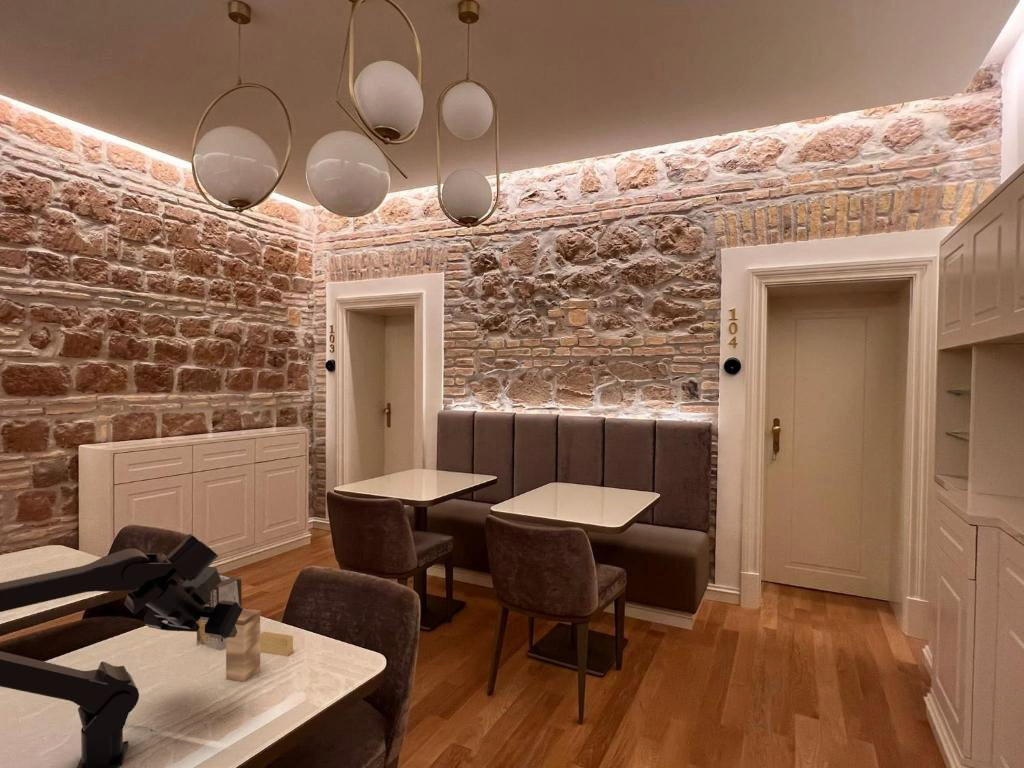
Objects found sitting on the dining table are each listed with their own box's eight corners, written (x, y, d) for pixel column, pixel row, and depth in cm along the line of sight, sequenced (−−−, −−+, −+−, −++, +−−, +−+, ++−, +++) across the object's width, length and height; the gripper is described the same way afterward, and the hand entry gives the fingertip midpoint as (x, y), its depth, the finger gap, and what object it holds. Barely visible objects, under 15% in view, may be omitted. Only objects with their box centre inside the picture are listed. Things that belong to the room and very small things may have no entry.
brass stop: (287, 656, 130) (287, 639, 130) (257, 652, 132) (257, 635, 132) (292, 652, 132) (292, 635, 132) (263, 648, 134) (263, 631, 134)
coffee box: (243, 643, 138) (243, 578, 138) (219, 655, 132) (219, 586, 132) (219, 635, 142) (219, 572, 142) (195, 646, 137) (194, 580, 136)
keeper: (244, 682, 119) (243, 620, 119) (225, 678, 120) (225, 618, 120) (261, 669, 124) (260, 610, 124) (243, 666, 125) (242, 608, 125)
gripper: (235, 562, 107) (274, 598, 118) (155, 553, 112) (200, 589, 122) (202, 621, 99) (247, 653, 110) (119, 609, 104) (170, 641, 115)
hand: (216, 631), depth 115 cm, fingers open, 9 cm apart
